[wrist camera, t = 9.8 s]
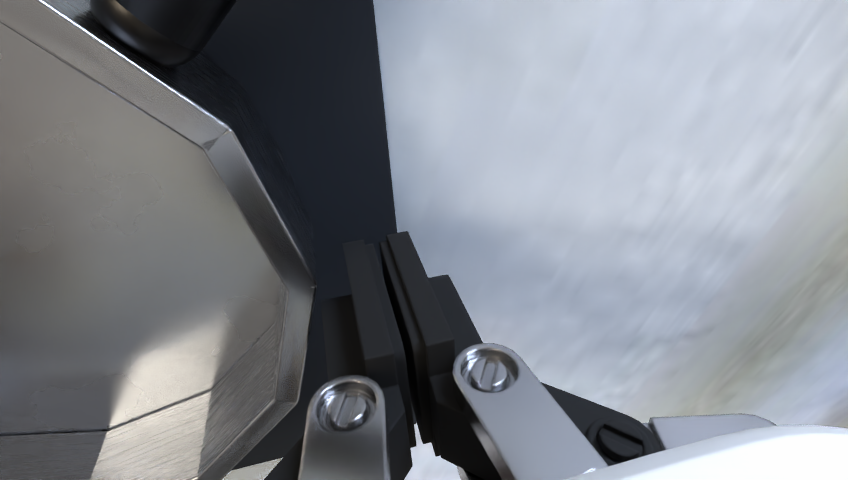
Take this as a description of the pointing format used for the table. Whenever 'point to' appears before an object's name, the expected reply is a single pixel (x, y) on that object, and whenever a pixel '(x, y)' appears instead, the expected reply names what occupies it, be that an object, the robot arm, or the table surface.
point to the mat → (317, 144)
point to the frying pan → (141, 248)
